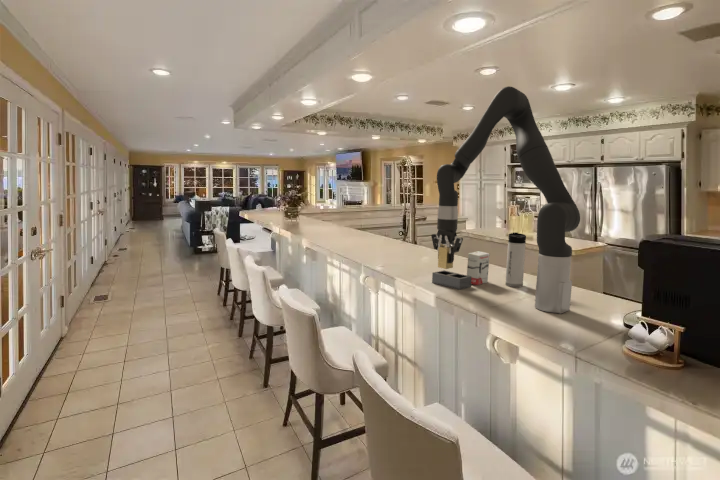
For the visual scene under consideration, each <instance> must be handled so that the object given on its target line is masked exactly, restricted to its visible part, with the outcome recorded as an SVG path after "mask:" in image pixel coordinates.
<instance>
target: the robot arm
mask: <svg viewBox="0 0 720 480" xmlns="http://www.w3.org/2000/svg"><path fill="white" fill-rule="evenodd" d="M504 118H505V119H506V120H507V121H508V123H509V124H510V125H511V128H512V131H513V132H514V135H515V144H516V145H515V147H516V148H515V149H516V155H517V159H518V161H519V163H520V166H521V168H522V171H523V172H524V175H525V176H526V177H527V179H528V180H530V181H531V183H532V184H533V185H535V187H536V188H537V189H538V190H539V191H540V193H542V195H543V196H544V198H545V200H546V202H547V203H545V204H544V205H542V207H541V208H540V209H539V211H538V214H537V220H536V245H537V246H538V254H537V255H538V258H537V268H536V269H537V271H536V284H535V295H534V296H535V297H534V298H535V299H534V308H536V309H537V310H539V311H543V312H546V313H555V314H564V313H566V312H568V311H570V310H571V309H570V308H571V298H572V289H573V280H572V279H570V278H571V267H572V255H573V247H572V246H571V245H570V244H568V243H567V242H566V233H569V232H573V231H575V230H576V229H577V228H578V227H579V225H580V222H581V214H580V210H579V208H578V206H577V204H576V202H575V201H574V199H573V197H572V196H571V194H570V192H569V191H568V189H567V187H566V185H565V183H564V182H563V179H562V177H561V174H560V172H559V171H558V167H557V166H556V164H555V161H554V159H553V155H552V154H551V151H550V149H549V147H548V145H547V143H546V141H545V139H544V137H543V134H542V133H541V131H540V129H539V127H538V125H537V123H536V120H535V118H534V113H533V110H532V108H531V104H530V101H529V98H528V97H527V95H526V94H525V93H523V92H522V91H520V90H519V89H518V88H516V87H513V86H505V87H502V88H501V89H500V90H498V91H497V92H496V94H495V95H494V96H493V98H492V100H491V101H490V103H489V105H488V107H487V108H486V110H485V111H484V112H483V115H482V116H481V118H480V119H479V121H478V123H477V124H476V126H475V127H474V128H473V130H472V131H471V133H470V134H469V135H468V136H467V138H466V139H465V140H464V141H463V143H462V144H461V145H460V147H458V149H457V150H456V151H455V152H454V159H453V161H452V162H451V163H450V164H448V163H446V164H441V165H440V166H439V168H438V169H437V173H436V183H437V190H438V193H439V197H438V209H437V220H436V221H437V224H436V228H437V230H438V231H437V233H433V234H431V240H432V241H431V242H432V244H433V245H432V246H433V249H434V250H436V251H437V256H438V255H439V247H442V246H447V248H448V252H449V254H448V263H453V264H454V262H455V261H454V260H455V253H459V251H460V249H461V246H462V243H463V241H464V238H463V237H459V236H458V235H457V230H458V219H459V218H458V217H459V208H458V207H459V206H458V204H459V192H458V191H457V190H455V189H456V188H455V184H456V183H458V182H460V180H461V179H462V178H463V177H464V176H465V175H466V173H467V171H468V169H469V168H470V166H471V164H472V163H474V161H475V160H476V159H477V158H478V156H480V154H481V153H482V152H483V150H484V149H485V147H486V145H487V142H488V141H489V138H490V136H491V133H492V131H493V130H494V128H496V125H497V124H498V123H499V122H500V121H501V120H502V119H504ZM451 248H452V250H451Z"/></svg>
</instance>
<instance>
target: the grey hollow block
mask: <svg viewBox="0 0 720 480" xmlns="http://www.w3.org/2000/svg"><path fill="white" fill-rule="evenodd" d="M471 277H472V276H467V274H463V273H459V272H458V273H457V272H453V271H448V270H446V269H443V270H440V271H435V272H432V277H431V278H432V279H431V284H437V285H439V286H443V287H447V288H452V289H455V290H458V291H459V290H460V291H461V290H464V289H468V288H471V287H472V284H471Z"/></svg>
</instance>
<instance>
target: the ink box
mask: <svg viewBox="0 0 720 480" xmlns="http://www.w3.org/2000/svg"><path fill="white" fill-rule="evenodd" d="M490 255H491V253H489V252H485V251H480V250H478V251H473V252H469V253H468V254H467V267H466V275H467V276H472V277H471V285H473V286H480V285H482V284H486V283H488V280H489V268H490Z"/></svg>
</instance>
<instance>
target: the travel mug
mask: <svg viewBox="0 0 720 480" xmlns="http://www.w3.org/2000/svg"><path fill="white" fill-rule="evenodd" d="M526 244H527V235H526V234H523V233H519V232H511V233H509V234H508V241H507V253H506V254H507V255H506V268H505V269H506V271H505V285H506V286H508V287H511V288H521V287H523V286H524V274H525V257H526Z"/></svg>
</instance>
